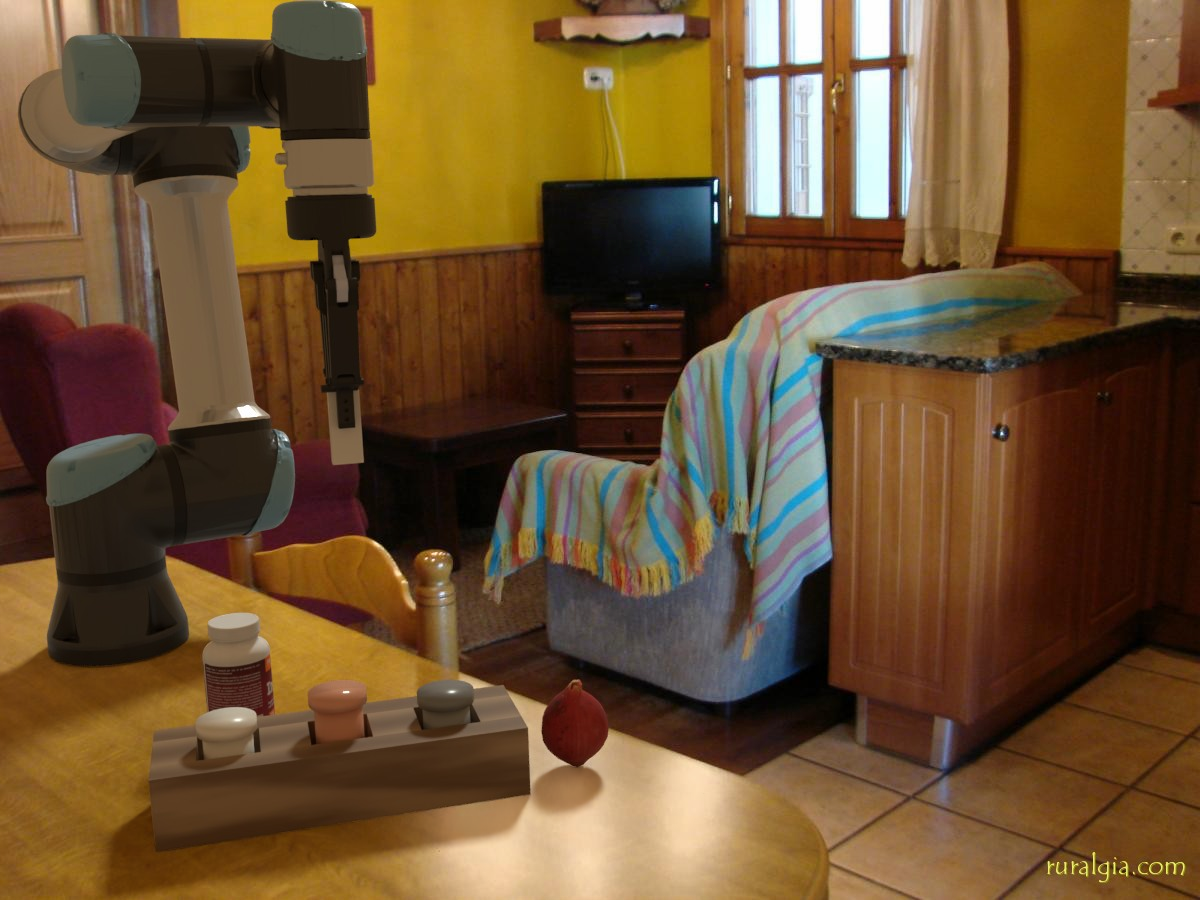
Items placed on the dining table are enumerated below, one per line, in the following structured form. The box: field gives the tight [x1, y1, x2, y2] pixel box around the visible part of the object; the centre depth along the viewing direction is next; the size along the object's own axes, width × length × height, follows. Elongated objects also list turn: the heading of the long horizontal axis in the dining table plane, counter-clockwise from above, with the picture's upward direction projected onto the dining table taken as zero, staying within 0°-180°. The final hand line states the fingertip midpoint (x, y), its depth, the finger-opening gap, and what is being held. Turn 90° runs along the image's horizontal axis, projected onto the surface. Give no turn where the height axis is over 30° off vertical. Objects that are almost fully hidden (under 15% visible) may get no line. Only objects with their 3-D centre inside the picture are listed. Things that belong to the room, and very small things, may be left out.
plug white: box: [195, 707, 257, 760], centre depth 108 cm, size 5×5×8 cm
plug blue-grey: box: [416, 679, 475, 730], centre depth 113 cm, size 5×5×8 cm
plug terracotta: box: [307, 679, 368, 744], centre depth 110 cm, size 5×5×8 cm
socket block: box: [147, 684, 532, 853], centre depth 111 cm, size 10×30×6 cm, turn 106°
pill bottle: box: [201, 612, 276, 717], centre depth 124 cm, size 6×6×11 cm
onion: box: [540, 679, 610, 768], centre depth 115 cm, size 6×6×8 cm
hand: (347, 461), depth 117 cm, fingers closed
